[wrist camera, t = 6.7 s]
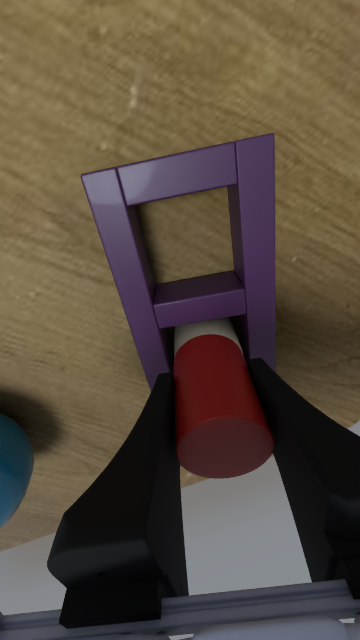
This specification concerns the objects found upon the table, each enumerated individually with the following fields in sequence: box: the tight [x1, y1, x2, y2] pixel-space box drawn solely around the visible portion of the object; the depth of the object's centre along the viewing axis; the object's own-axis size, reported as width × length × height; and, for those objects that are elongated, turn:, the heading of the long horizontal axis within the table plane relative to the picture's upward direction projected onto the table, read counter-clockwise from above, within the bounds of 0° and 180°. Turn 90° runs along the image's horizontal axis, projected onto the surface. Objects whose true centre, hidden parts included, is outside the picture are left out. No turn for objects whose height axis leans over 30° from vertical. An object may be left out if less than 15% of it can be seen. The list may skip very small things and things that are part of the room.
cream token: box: [174, 317, 243, 358], centre depth 15 cm, size 4×4×3 cm
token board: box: [81, 133, 276, 466], centre depth 16 cm, size 7×19×2 cm, turn 10°
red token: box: [174, 334, 275, 478], centre depth 12 cm, size 4×4×5 cm
